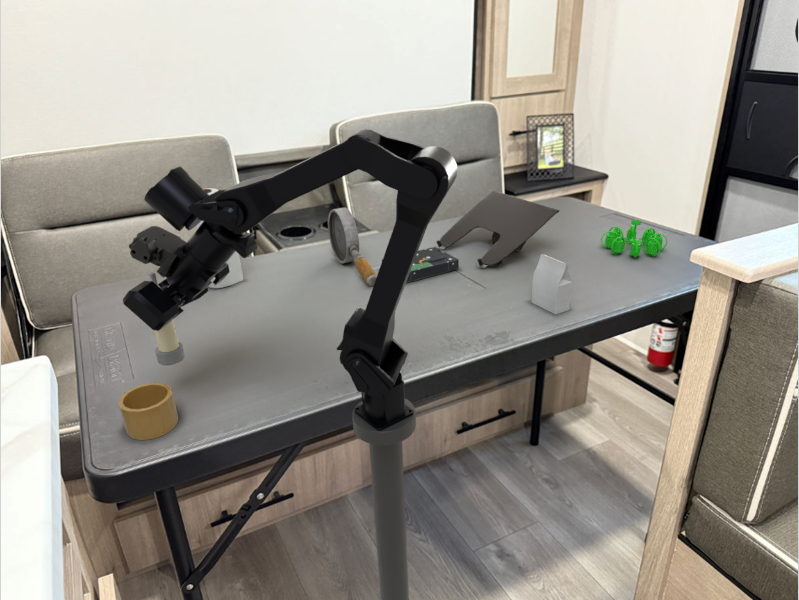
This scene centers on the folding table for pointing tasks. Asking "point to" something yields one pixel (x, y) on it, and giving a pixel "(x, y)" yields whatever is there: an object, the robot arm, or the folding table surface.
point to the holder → (148, 411)
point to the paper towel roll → (233, 261)
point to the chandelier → (634, 240)
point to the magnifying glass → (348, 242)
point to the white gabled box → (552, 285)
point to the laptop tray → (500, 225)
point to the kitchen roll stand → (167, 340)
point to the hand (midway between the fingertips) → (154, 317)
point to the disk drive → (431, 264)
